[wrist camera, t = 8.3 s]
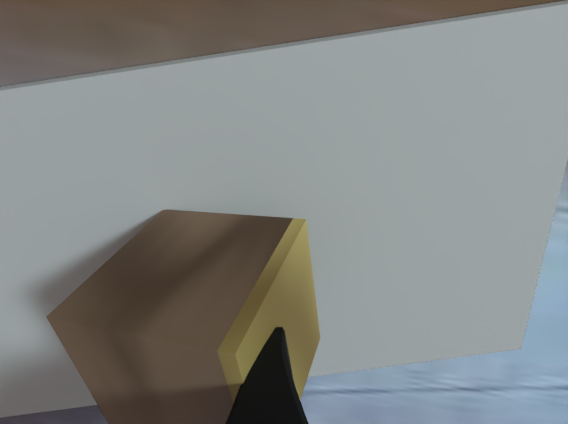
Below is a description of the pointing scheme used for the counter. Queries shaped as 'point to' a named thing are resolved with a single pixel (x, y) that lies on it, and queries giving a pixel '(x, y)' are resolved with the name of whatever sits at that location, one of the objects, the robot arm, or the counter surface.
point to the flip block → (190, 315)
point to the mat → (302, 183)
